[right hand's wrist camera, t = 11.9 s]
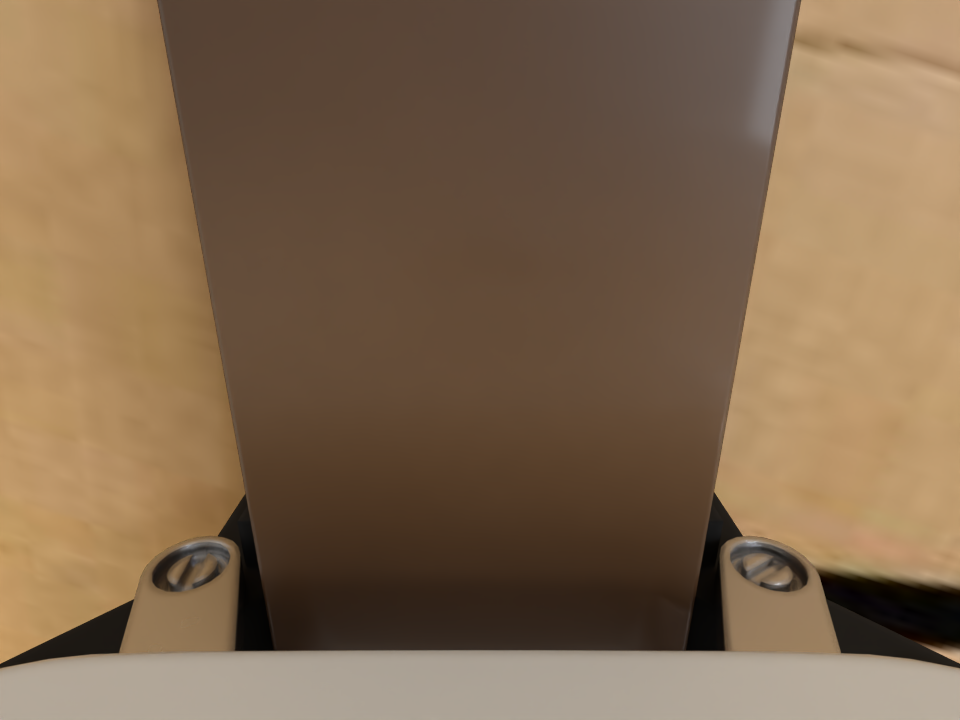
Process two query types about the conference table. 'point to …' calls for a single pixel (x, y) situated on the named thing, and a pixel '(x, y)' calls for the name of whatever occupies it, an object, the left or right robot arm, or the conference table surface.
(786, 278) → the conference table surface
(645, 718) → the right robot arm
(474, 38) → the beam
